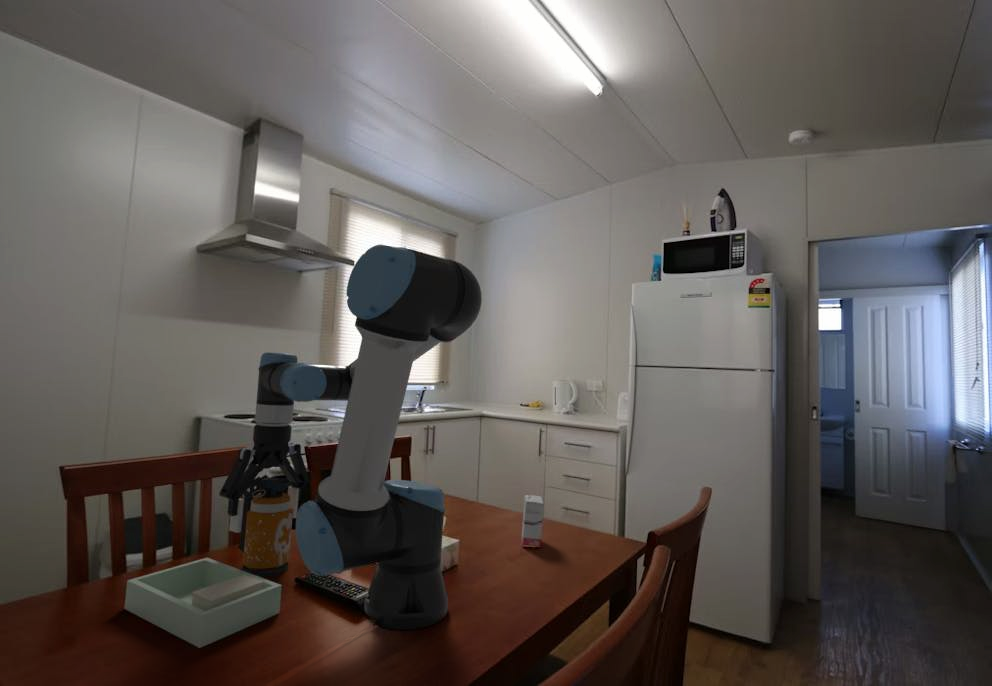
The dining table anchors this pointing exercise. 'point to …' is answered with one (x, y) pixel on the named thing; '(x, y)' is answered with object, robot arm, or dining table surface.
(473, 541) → the dining table surface
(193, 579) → the crate
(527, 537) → the ink box
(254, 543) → the canister
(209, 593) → the white plastic bar
